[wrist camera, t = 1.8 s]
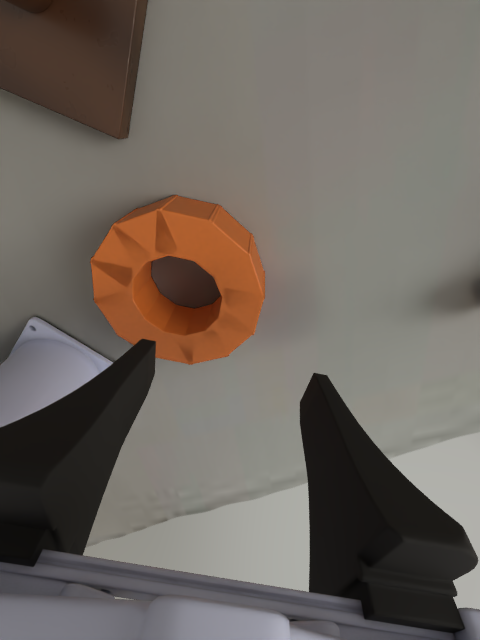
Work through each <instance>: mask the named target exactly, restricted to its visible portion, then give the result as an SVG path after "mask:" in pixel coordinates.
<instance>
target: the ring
mask: <svg viewBox="0 0 480 640" xmlns="http://www.w3.org/2000/svg"><path fill="white" fill-rule="evenodd" d="M166 256H173V257H177V258H182V259H187V260H191V261H194V262H195V263H197V264H198V265H199V266H200V267H202V268H203V269H204V270H205V271H207V272H208V273H209V274H210V275H212V276H213V277H214V280H215V282H216V285H217V287H218V289H219V292H220V294H221V296H220V297H219V298H218V299H217V300H216V301H215V302H214V303H213V304H211V305H207V306H203V307H199V308H195V309H194V308H189V307H184V306H179V305H176V304H174V303H173V302H172V301H170V300H169V299H167V298H166V297H165V296H163V295H162V294H161V293H160V292H159V290H158V288H157V286H156V285H155V283H154V281H153V279H152V277H151V262H152V261H153V260H156V259H159V258H162V257H166ZM90 263H91V268H92V279H93V290H94V299H93V300H94V301H95V303H96V304H97V305H98V307H99V308H100V310H101V311H102V313H103V314H104V316H105V317H106V319H107V320H108V322H109V323H110V324H111V326H112V327H113V329H114V330H115V332H116V334H117V335H118V336H119V337H122V338H123V339H125V340H126V341H128V342H130V343H131V344H133V345H135V344H136V343H137V342H138V341H139V340H141V339H147V340H152V341H156V355H155V357H156V358H161V359H166V360H171V361H176V362H181V363H186V364H189V365H190V364H194V363H199V362H204V361H208V360H213V359H218V358H222V357H227V356H229V354H230V353H231V352H232V351H233V350H235V349H236V348H237V347H238V346H239V345H241V344H242V343H243V342H244V341H245V340H246V339H248V338H249V337H250V336H251V335H254V333H255V328H256V325H257V321H258V318H259V314H260V311H261V307H262V304H263V300H264V299H265V271H264V270H263V267H262V264H261V261H260V258H259V254H258V251H257V248H256V245H255V242H254V237H253V235H252V233H249V232H248V231H247V230H246V229H245V228H244V227H243V226H242V225H240V224H239V223H238V222H237V221H236V220H235V219H234V218H233V217H232V216H231V215H229V214H228V213H227V212H226V211H225V210H224V209H223V208H222V206H220V205H218V204H217V205H216V204H212V203H207V202H203V201H198V200H194V199H189V198H185V197H180V196H178V195H172V196H171V197H169V198H166V199H163V200H160V201H158V202H155V203H152V204H150V205H147V206H144V207H141V208H139V209H138V208H136V209H135V210H133V211H132V212H130V213H129V214H127V215H126V216H124V217H123V218H121V219H120V220H118V221H117V222H115V223H114V224H113V225H112V226H111V229H110V231H109V232H108V234H107V235H106V237H105V239H104V240H103V242H102V243H101V245H100V247H99V248H98V250H97V252H96V253H95V255H94V256H93V257H92V258H91V261H90Z"/></svg>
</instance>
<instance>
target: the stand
mask: <svg viewBox="0 0 480 640" xmlns="http://www.w3.org/2000/svg"><path fill="white" fill-rule="evenodd" d="M147 2H148V0H0V88H2V89H4V90H6V91H8V92H11V93H13V94H15V95H18V96H20V97H22V98H25V99H27V100H29V101H32V102H34V103H36V104H39V105H41V106H43V107H45V108H48V109H50V110H52V111H55V112H57V113H59V114H62V115H64V116H66V117H69V118H71V119H73V120H76V121H78V122H80V123H82V124H85V125H87V126H89V127H92V128H94V129H96V130H99V131H101V132H103V133H106V134H108V135H110V136H113V137H115V138H117V139H124V138H128V133H129V126H130V119H131V112H132V105H133V98H134V92H135V85H136V78H137V71H138V64H139V57H140V50H141V43H142V37H143V30H144V23H145V16H146V9H147Z"/></svg>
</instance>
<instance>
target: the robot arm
mask: <svg viewBox="0 0 480 640" xmlns="http://www.w3.org/2000/svg"><path fill="white" fill-rule="evenodd" d="M33 326H34V327H35V328H34V327H33ZM155 355H156V341H152V340H147V339H141V340H139V341H138V342H137V343H136V344H135V345H134V346H133V347H132V348H131V349H129V350H128V351H127V352H126V353H125V354H124V355H122V356H121V357H120V358H119V359H118V360H116V361H115V362H114V363H113V362H112V361H110V360H108V359H107V358H105V357H103V356H102V355H100V354H98V353H97V352H95V351H93V350H92V349H90V348H88V347H87V346H85V345H83V344H82V343H80V342H78V341H77V340H75V339H73V338H72V337H70V336H68V335H67V334H65V333H63V332H62V331H60V330H58V329H57V328H55V327H53V326H52V325H50V324H48V323H47V322H45V321H43V320H42V319H40V318H38V317H32V318H31V319H30V320H29V321H28V322H27V324H26V326H25V328H24V330H23V331H22V333H21V335H20V337H19V339H18V340H17V342H16V344H15V346H14V347H13V349H12V351H11V353H10V355H9V356H8V358H7V359H6V360H5V361H4V362H3V363H2V364H1V365H0V640H480V610H479V609H473V608H459V609H457V606H456V604H455V602H454V599H453V597H455V596H457V591H456V588H455V586H454V584H453V580H455V579H457V578H459V577H460V576H462V575H464V574H466V573H468V572H470V571H471V570H472V569H474V568H475V566H476V565H477V563H478V557H477V555H476V553H475V551H474V549H473V547H472V545H471V543H470V541H469V538H468V536H467V535H466V532H465V530H464V529H463V527H462V526H461V525H460V524H459V523H458V522H456V521H455V520H454V519H453V518H451V517H450V516H449V515H448V514H446V513H445V512H444V511H443V510H442V509H440V508H439V507H438V506H437V505H435V504H434V503H433V502H432V501H431V500H430V499H428V497H426V496H425V495H424V494H423V493H422V492H421V491H420V490H419V489H417V488H416V487H415V486H414V485H413V484H412V483H411V482H410V481H409V480H408V479H407V478H406V477H405V476H404V475H403V474H402V473H401V472H400V471H399V470H398V469H397V468H396V467H395V466H394V465H393V464H392V463H391V462H390V461H389V460H388V459H387V457H386V456H385V455H384V454H383V453H382V452H381V451H380V449H379V448H378V447H377V446H376V445H375V444H374V442H373V441H372V440H371V439H370V438H369V436H368V435H367V434H366V432H365V431H364V430H363V428H362V427H361V426H360V424H359V423H358V422H357V420H356V419H355V418H354V416H353V415H352V413H351V412H350V410H349V409H348V407H347V406H346V404H345V403H344V401H343V400H342V398H341V397H340V395H339V394H338V392H337V390H336V389H335V387H334V386H333V384H332V383H331V381H330V379H329V378H328V376H327V375H322V374H317V373H314V374H313V376H312V378H311V380H310V382H309V384H308V386H307V389H306V391H305V393H304V395H303V397H302V399H301V401H300V426H301V434H302V441H303V448H304V454H305V461H306V468H307V476H308V491H309V520H310V574H309V592H306V591H298V590H293V589H286V588H281V587H275V586H268V585H262V584H256V583H250V582H243V581H237V580H231V579H225V578H219V577H212V576H206V575H200V574H194V573H188V572H182V571H175V570H169V569H163V568H157V567H151V566H144V565H138V564H132V563H126V562H119V561H113V560H107V559H101V558H95V557H88V556H83V552H84V550H85V547H86V544H87V541H88V538H89V535H90V532H91V529H92V526H93V523H94V520H95V517H96V514H97V511H98V509H99V506H100V503H101V500H102V497H103V494H104V492H105V489H106V486H107V484H108V481H109V478H110V476H111V473H112V470H113V468H114V465H115V462H116V460H117V457H118V455H119V452H120V449H121V447H122V445H123V443H124V440H125V438H126V436H127V434H128V432H129V430H130V428H131V426H132V424H133V422H134V420H135V418H136V416H137V414H138V412H139V410H140V408H141V406H142V404H143V402H144V400H145V398H146V396H147V394H148V391H149V388H150V386H151V383H152V380H153V377H154V374H155ZM114 596H115V597H121V598H128V599H134V600H124V599H115V598H114Z"/></svg>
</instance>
